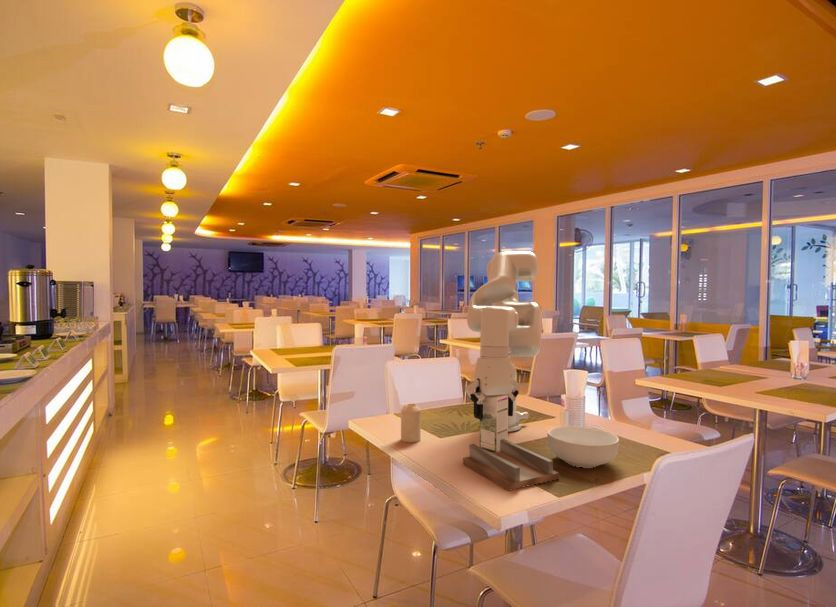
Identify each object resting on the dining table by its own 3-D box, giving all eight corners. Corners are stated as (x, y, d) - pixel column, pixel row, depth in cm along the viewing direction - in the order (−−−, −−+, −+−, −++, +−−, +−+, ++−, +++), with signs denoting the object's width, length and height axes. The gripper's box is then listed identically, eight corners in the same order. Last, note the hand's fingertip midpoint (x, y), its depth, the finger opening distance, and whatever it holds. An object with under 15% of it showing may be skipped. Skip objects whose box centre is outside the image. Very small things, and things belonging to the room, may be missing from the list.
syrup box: (508, 447, 134) (509, 394, 134) (496, 452, 130) (496, 397, 130) (491, 443, 138) (491, 391, 138) (478, 447, 134) (478, 394, 134)
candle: (418, 443, 138) (418, 407, 137) (398, 442, 139) (399, 406, 138) (422, 437, 143) (422, 403, 143) (403, 436, 144) (403, 402, 144)
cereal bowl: (634, 471, 117) (634, 441, 117) (572, 478, 113) (573, 447, 112) (589, 449, 134) (590, 423, 134) (534, 454, 129) (534, 427, 129)
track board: (509, 455, 128) (509, 438, 128) (558, 479, 112) (559, 459, 112) (463, 463, 122) (463, 445, 122) (508, 490, 106) (508, 469, 106)
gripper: (511, 350, 141) (511, 411, 140) (459, 352, 133) (458, 416, 133) (529, 353, 134) (528, 417, 134) (475, 355, 126) (474, 423, 126)
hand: (493, 416), depth 133 cm, fingers open, 9 cm apart
